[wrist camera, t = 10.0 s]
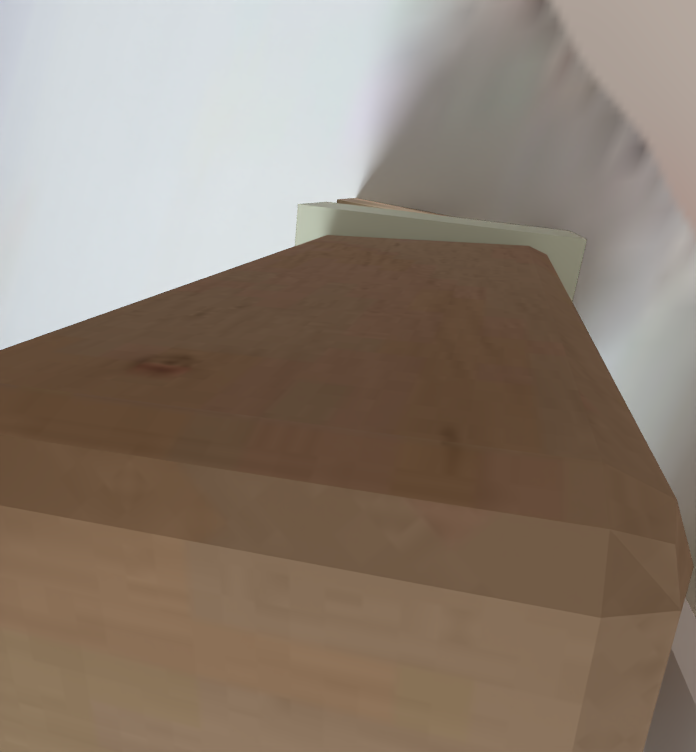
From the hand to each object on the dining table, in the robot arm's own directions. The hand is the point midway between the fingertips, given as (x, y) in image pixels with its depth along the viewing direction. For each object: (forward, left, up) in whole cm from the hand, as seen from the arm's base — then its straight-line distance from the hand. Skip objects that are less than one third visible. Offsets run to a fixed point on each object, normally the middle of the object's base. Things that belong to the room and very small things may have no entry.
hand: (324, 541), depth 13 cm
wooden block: (+1, +1, -14) cm, 14 cm away
